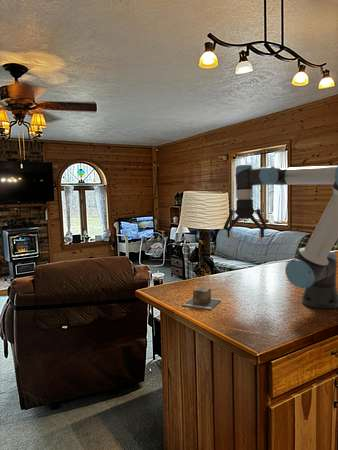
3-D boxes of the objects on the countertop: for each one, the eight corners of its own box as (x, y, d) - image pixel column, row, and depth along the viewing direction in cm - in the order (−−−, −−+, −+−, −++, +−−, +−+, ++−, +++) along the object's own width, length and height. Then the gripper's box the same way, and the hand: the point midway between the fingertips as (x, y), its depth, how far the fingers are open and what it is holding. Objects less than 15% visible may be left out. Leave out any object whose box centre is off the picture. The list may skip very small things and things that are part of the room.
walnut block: (211, 301, 149) (210, 288, 148) (206, 305, 144) (205, 291, 143) (198, 299, 152) (198, 286, 151) (193, 303, 146) (192, 290, 146)
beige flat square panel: (237, 305, 145) (237, 304, 145) (231, 312, 137) (231, 311, 137) (217, 302, 149) (217, 302, 149) (210, 309, 141) (210, 308, 141)
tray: (221, 301, 150) (221, 299, 150) (210, 311, 139) (210, 308, 139) (194, 298, 156) (194, 296, 156) (182, 306, 145) (182, 304, 145)
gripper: (273, 197, 153) (274, 243, 155) (220, 199, 164) (221, 243, 165) (271, 197, 147) (272, 246, 148) (216, 200, 157) (217, 245, 159)
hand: (245, 244), depth 157 cm, fingers open, 13 cm apart
